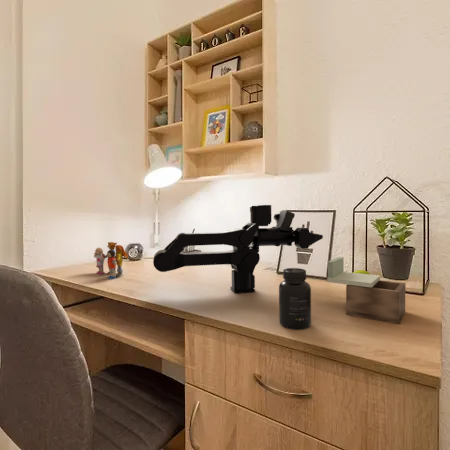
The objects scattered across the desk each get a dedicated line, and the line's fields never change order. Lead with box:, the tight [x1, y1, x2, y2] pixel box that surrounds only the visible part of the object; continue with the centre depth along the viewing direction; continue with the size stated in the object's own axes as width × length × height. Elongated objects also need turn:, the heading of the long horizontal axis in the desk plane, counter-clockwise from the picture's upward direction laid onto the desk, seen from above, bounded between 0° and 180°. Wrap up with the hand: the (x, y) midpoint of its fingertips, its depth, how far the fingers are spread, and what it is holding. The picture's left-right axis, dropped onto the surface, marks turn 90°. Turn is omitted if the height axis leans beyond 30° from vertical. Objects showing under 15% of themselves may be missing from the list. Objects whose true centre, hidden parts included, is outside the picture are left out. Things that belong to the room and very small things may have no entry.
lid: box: [326, 256, 381, 288], centre depth 75 cm, size 10×10×5 cm
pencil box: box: [345, 279, 406, 325], centre depth 72 cm, size 11×10×7 cm
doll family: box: [93, 241, 130, 280], centre depth 124 cm, size 21×10×13 cm, turn 42°
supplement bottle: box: [278, 267, 312, 330], centre depth 66 cm, size 7×7×12 cm
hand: (315, 235), depth 100 cm, fingers open, 9 cm apart
